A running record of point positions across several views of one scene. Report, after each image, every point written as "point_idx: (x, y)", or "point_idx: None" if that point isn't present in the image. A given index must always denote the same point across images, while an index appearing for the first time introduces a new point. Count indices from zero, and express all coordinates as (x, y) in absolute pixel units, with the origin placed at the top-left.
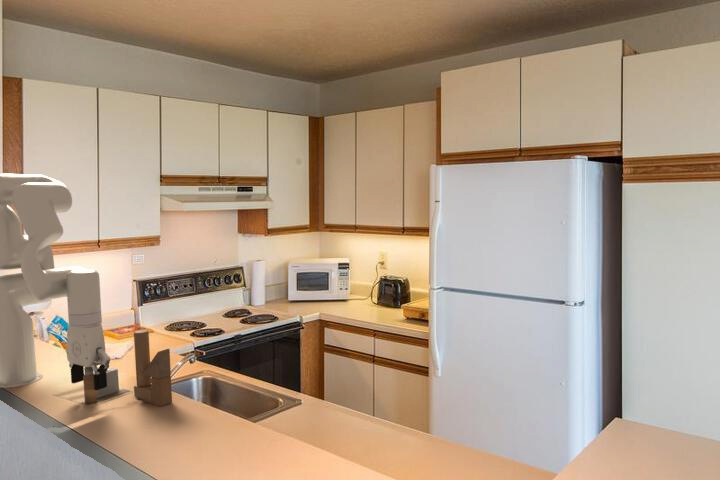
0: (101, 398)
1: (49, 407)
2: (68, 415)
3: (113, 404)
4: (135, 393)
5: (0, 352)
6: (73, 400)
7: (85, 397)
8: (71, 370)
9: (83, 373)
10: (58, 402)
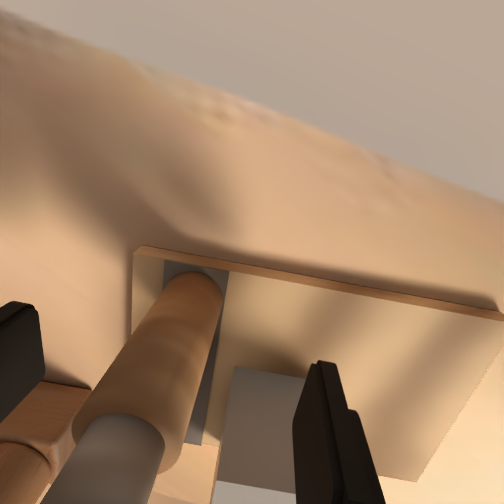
0: None
1: (411, 208)
2: (198, 152)
3: (123, 329)
4: (65, 410)
5: None
6: (310, 290)
7: (188, 289)
8: (349, 473)
9: (296, 476)
10: (415, 277)
